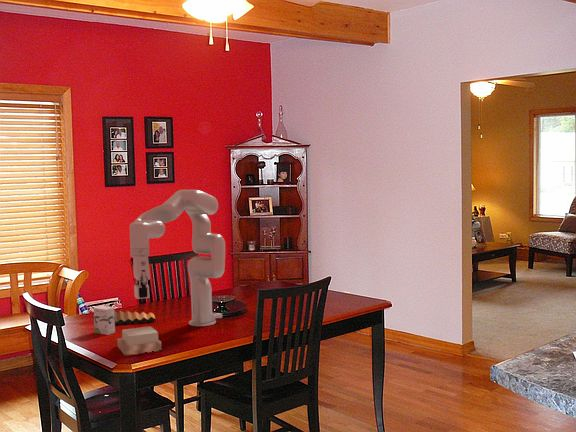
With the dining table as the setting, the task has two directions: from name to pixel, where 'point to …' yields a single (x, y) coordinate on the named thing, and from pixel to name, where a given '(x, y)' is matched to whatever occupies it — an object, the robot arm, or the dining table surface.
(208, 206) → the robot arm
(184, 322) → the dining table surface
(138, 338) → the tower top
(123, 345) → the tower base
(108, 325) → the ink box
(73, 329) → the dining table surface
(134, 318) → the pan flute
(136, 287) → the cube
